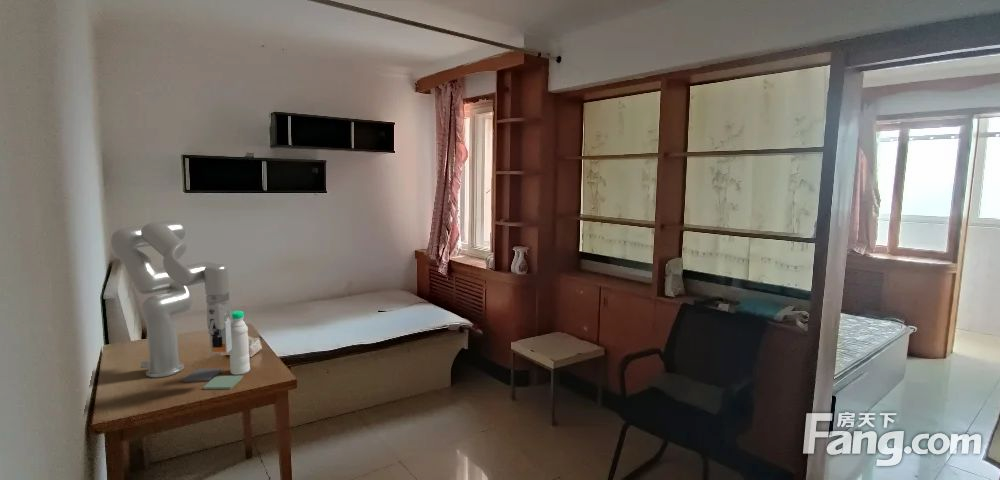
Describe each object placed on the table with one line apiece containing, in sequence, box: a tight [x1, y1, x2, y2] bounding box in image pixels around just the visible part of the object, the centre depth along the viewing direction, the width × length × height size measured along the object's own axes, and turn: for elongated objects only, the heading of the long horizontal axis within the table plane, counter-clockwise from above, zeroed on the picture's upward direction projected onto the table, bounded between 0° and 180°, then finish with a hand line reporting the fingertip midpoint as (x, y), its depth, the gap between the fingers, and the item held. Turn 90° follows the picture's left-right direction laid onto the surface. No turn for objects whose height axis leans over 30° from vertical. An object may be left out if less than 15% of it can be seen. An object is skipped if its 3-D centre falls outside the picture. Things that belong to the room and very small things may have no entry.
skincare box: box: [209, 319, 232, 354], centre depth 181 cm, size 6×4×12 cm
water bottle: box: [228, 310, 251, 376], centre depth 192 cm, size 7×7×25 cm
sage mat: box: [202, 375, 244, 390], centre depth 184 cm, size 10×10×1 cm
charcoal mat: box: [181, 368, 223, 382], centre depth 190 cm, size 10×10×1 cm
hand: (221, 344), depth 181 cm, fingers closed on skincare box, 4 cm apart
